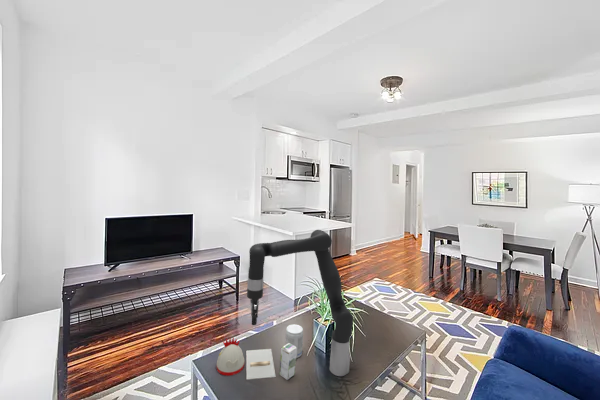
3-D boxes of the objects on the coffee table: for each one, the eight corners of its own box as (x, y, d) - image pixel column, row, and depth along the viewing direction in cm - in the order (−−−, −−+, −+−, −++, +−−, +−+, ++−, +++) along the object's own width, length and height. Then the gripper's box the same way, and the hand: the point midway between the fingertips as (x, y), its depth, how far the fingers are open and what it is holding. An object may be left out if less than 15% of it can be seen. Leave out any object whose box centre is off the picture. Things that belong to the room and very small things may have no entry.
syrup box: (286, 369, 138) (288, 342, 137) (295, 374, 135) (297, 347, 134) (279, 374, 134) (280, 346, 133) (287, 380, 130) (289, 352, 129)
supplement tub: (298, 347, 157) (300, 323, 156) (304, 357, 148) (306, 331, 147) (282, 349, 154) (284, 325, 153) (287, 360, 145) (289, 334, 144)
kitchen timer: (215, 359, 142) (216, 332, 141) (241, 355, 147) (243, 328, 146) (217, 378, 129) (218, 348, 128) (246, 372, 134) (247, 343, 133)
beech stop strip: (269, 363, 141) (269, 361, 141) (269, 365, 140) (270, 362, 140) (250, 364, 139) (250, 362, 139) (250, 366, 138) (250, 364, 138)
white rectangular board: (271, 349, 154) (271, 348, 154) (275, 377, 132) (275, 376, 132) (246, 351, 151) (246, 350, 151) (246, 379, 129) (246, 379, 129)
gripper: (264, 293, 121) (262, 327, 122) (262, 281, 135) (260, 312, 136) (247, 293, 120) (245, 328, 121) (247, 281, 134) (245, 313, 135)
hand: (253, 319), depth 129 cm, fingers open, 8 cm apart
